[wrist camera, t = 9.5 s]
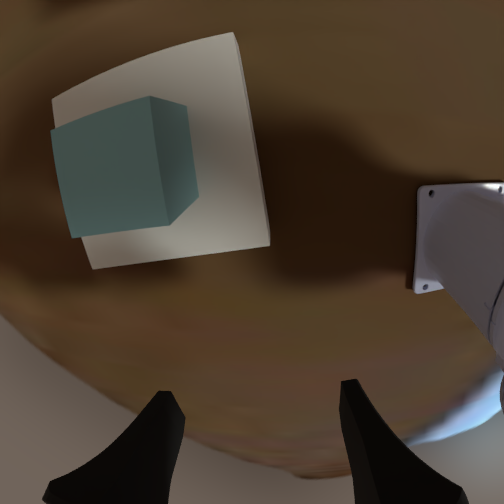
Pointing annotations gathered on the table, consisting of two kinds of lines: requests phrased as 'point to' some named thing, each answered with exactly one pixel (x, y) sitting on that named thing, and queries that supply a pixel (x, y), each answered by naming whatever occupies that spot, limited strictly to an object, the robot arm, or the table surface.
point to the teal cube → (125, 167)
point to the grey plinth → (203, 146)
